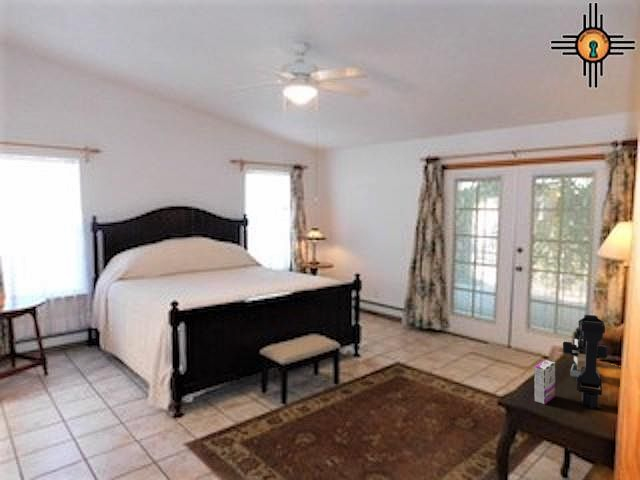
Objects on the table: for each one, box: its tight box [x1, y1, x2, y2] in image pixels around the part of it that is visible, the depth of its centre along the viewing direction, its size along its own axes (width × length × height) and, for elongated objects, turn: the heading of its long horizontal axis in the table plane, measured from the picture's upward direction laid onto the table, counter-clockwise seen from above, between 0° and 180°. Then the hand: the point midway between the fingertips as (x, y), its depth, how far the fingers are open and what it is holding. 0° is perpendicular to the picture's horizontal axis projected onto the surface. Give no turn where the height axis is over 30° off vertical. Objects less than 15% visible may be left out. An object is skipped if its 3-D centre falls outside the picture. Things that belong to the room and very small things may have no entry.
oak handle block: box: [577, 352, 585, 372], centre depth 217 cm, size 5×5×13 cm
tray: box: [569, 363, 580, 378], centre depth 218 cm, size 10×10×3 cm
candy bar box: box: [533, 359, 556, 405], centre depth 193 cm, size 11×5×16 cm, turn 129°
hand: (583, 357), depth 218 cm, fingers closed on oak handle block, 5 cm apart
